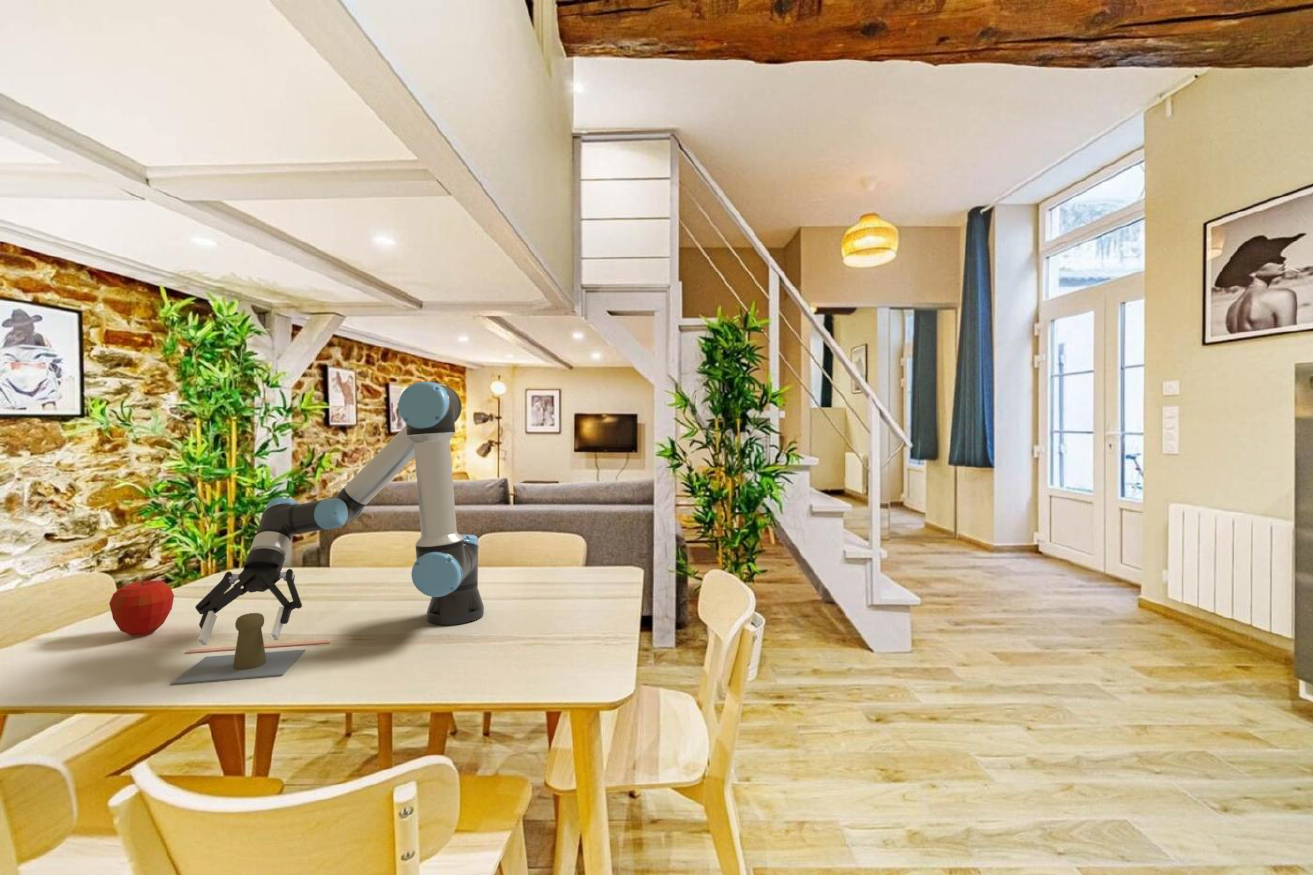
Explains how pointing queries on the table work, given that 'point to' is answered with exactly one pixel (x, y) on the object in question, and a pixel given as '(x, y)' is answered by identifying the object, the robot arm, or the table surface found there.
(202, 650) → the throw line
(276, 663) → the mat
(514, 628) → the table surface
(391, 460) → the robot arm
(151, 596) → the apple
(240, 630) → the cork
